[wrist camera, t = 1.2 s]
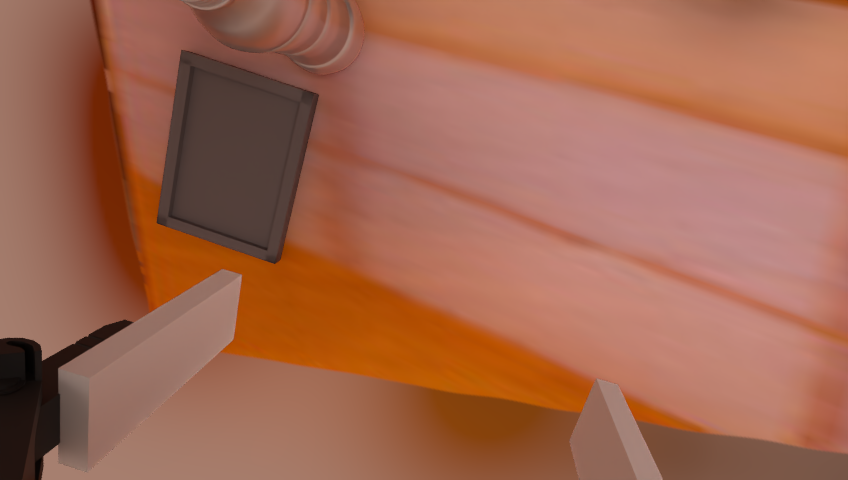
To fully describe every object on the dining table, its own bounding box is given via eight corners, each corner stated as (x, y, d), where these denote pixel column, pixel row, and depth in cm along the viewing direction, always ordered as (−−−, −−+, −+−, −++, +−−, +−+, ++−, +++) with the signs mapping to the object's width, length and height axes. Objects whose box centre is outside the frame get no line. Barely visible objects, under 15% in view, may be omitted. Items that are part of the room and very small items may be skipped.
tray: (190, 51, 40) (181, 49, 38) (318, 94, 39) (313, 94, 38) (165, 220, 44) (156, 222, 43) (280, 260, 44) (274, 263, 43)
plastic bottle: (282, 50, 39) (88, -13, 20) (318, -26, 37) (142, -181, 18) (346, 92, 39) (217, 69, 20) (385, 18, 37) (285, -87, 18)
